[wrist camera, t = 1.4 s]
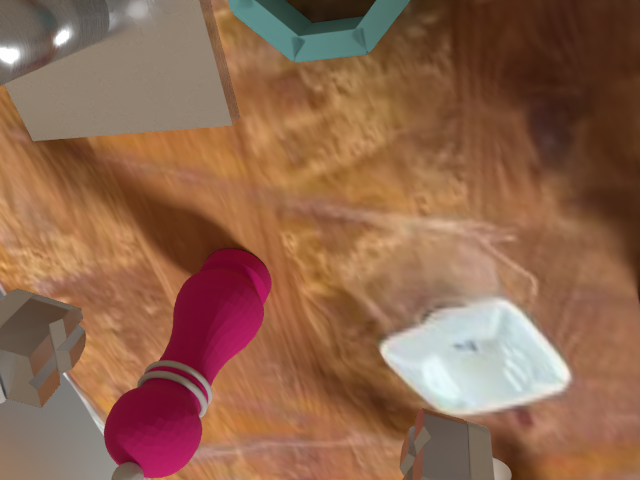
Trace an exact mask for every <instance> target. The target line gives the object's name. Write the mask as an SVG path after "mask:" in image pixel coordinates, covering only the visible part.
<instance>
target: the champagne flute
mask: <svg viewBox="0 0 640 480" xmlns="http://www.w3.org/2000/svg"><path fill="white" fill-rule="evenodd" d="M493 467H494V478H495V480H511V477H512V475H511V471H510V469H509V468H508V466H507V465H506V464H504V463H503V462H501V461H500V460H498V459H495V458H493Z"/></svg>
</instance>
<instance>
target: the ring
mask: <svg viewBox="0 0 640 480" xmlns="http://www.w3.org/2000/svg"><path fill="white" fill-rule="evenodd" d="M228 1H229V5H230V9H231V11H232V10H234V12H233V14H234V15H235V16H236V17H237V18H239V19H240V20H241V21H242V22H244V23H245V24H246V25H247V26H249V27H250V28H251V29H252V30H254V31H255V32H256V33H257V34H259V35H260V36H261V37H262V38H264V39H265V40H266V41H267V42H269V43H270V44H271V45H272V46H274V47H275V48H276V49H277V50H279V51H280V52H281V53H282V54H284V55H285V56H286V57H287V58H289V59H290V60H291V61H292V62H293V60H294V59H295V62H304V61H313V60H322V59H331V58H340V57H349V56H358V55H367V53H368V52H369V53H370V52H371V50H372V49H373V48H374V47H375V45H376V44H377V43H378V41H379V40H380V39H381V38H382V36H383V35H384V34H385V32H386V31H387V30H388V29H389V27H390V26H391V25H392V23H393V22H394V21H395V20H396V18H397V17H398V16H399V14H400V13H401V12H402V11H403V9H404V8H405V7H406V5H407V4H408V3H409V2H410V0H376V1H375V2H374V3H373V5H372V6H371V7H370V9H369V10H368V11H367V13H366V14H365V16H361V17H354V18H346V19H339V20H331V21H324V22H316V23H312V22H311V21H310V20H308V19H307V18H306V17H305V16H304V15H302V14H301V13H300V12H299V11H298V10H296V9H295V8H294V7H293V6H292V5H290V4H289V3H288V2H287V1H286V0H228Z"/></svg>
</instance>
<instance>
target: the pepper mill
mask: <svg viewBox="0 0 640 480" xmlns="http://www.w3.org/2000/svg"><path fill="white" fill-rule="evenodd" d="M270 289H271V277H270V274H269V272H268V270H267V268H266V267H265V265H264V264H263V263H262V262H261V261H260V260H259V259H258V258H257V257H255V256H253V255H251V254H250V253H248V252H245V251H242V250H239V249H231V248H229V249H221V250H218V251H216V252H214V253H213V254H211V255H210V256H209V258H208V259H207V260H206V262H205V263H204V265H203V266H202V268H201V270H200V272H198V273H196V274H194V275H192V276H191V277H190V278H189V279H188V280H187V281H186V282H185V283H184V285H183V286H182V288H181V290H180V292H179V293H178V295H177V299H176V303H175V306H174V314H173V329H172V335H171V338H170V342H169V344H168V346H167V348H166V350H165V352H164V354H163V356H162V357H161V358H160V360H159V361H157V362H154V363H152V364H151V365H149V366H148V367H147V368H146V370H145V373H144V375H143V376H142V377H141V378H140V379H139V381H138V388H135V389H132V390H130V391H128V392H127V393H125V394H124V395H122V396H121V397H120V398H119V400H118V401H117V402H116V403H115V404H114V406H113V407H112V409H111V411H110V413H109V415H108V417H107V420H106V424H105V429H104V438H105V445H106V448H107V450H108V452H109V454H110V455H111V457H112V459H113V460H114V461H115V462H116V463H117V464H118V465H119V467H117V468H116V470H115V471H114V473H113V476H112V480H143V479H144V477H146V478H162V477H165V476H169V475H172V474H173V473H175V472H177V471H179V470H180V469H181V468H183V467H184V466H185V465H186V464H187V463H188V462H189V460H190V459H191V458H192V456H193V455H194V453H195V451H196V450H197V448H198V446H199V443H200V440H201V435H202V424H201V420H200V418H201V417H202V416H203V415H204V414H205V413H206V410H207V406H208V405H209V403H210V402H211V400H212V389H211V385H212V382H213V380H214V378H215V377H216V375H217V373H218V372H219V370H220V369H221V368H222V367H223V366H224V364H225V363H226V362H227V361H228V360H229V359H231V358H232V357H233V356H234V355H236V354H237V353H238V352H239V351H241V350H242V349H243V348H245V347H246V346H247V345H248V343H249V342H250V341H251V340H252V339H253V338H254V337H255V335H256V333H257V331H258V330H259V328H260V326H261V324H262V321H263V317H264V308H263V304H264V303H265V301H266V299H267V296H268V294H269V292H270Z"/></svg>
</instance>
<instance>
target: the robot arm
mask: <svg viewBox="0 0 640 480" xmlns="http://www.w3.org/2000/svg"><path fill="white" fill-rule="evenodd" d="M82 319H83V314H82V309H81V308H78V307H75V306H72V305H69V304H66V303H63V302H60V301H56V300H53V299H50V298H47V297H44V296H41V295H38V294H35V293H31V292H28V291H25V290H21V289H18V288H17V289H15V290H13V291H10V292H9V293H8V294H7V295H5V296H4V298H2V299H1V300H0V404H1V403H2V402H4V401H5V398H6V399H10V400H14V401H17V402H21V403H25V404H28V405H32V406H35V407H39V408H42V407H43V405H44V404H45V403H46V402H47V400H48V399H49V398H50V397H51V395H52V394H53V393H54V392H55V390H56V389H57V388H58V386H59V385H60V374H62V373H65V372H67V371H69V370H71V369H72V368H73V367H74V366H75V364H76V363H77V361H78V360H79V359H80V356H81V354H82V352H83V350H84V347H85V342H86V334H85V330H84V329H83V328H82V327H81V326H80V324H79V323H80V322H81V320H82ZM400 469H401V471H402V473H403V475H404V478H403V480H495V478H494V467H493V457H492V446H491V436H490V431H489V429H488V427H485V426H482V425H479V424H475V423H471V422H468V421H464V420H463V419H460V418H456V417H453V416H449V415H445V414H442V413H438V412H435V411H431V410H427V409H424V408H422V409H420V410H419V412H418V413H417V415H416V419H415V426H412V427H410V428H409V430H408V432H407V434H406V436H405V439H404V442H403V446H402V451H401V458H400Z"/></svg>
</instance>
